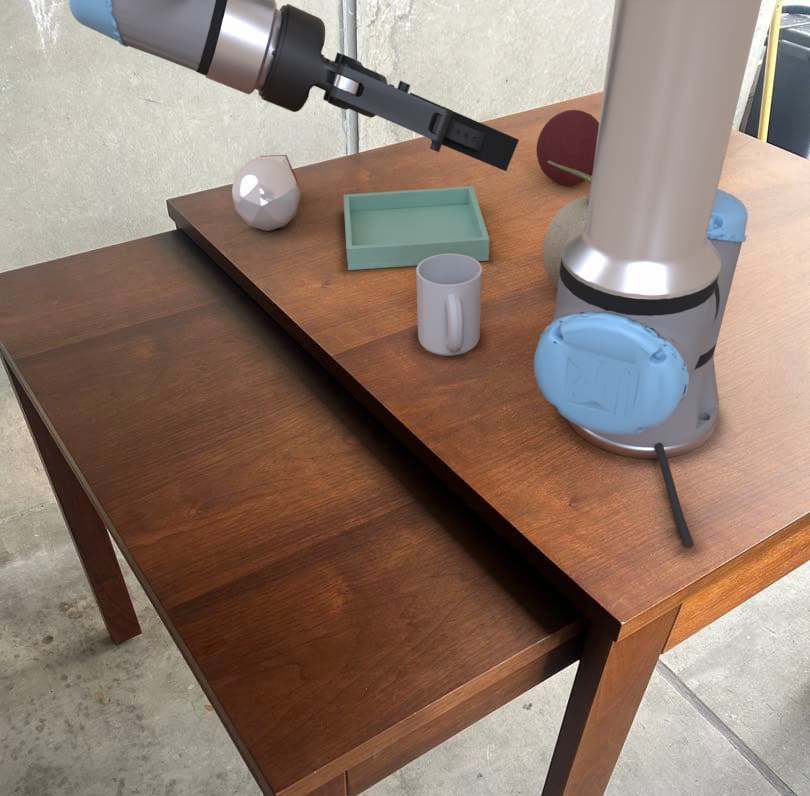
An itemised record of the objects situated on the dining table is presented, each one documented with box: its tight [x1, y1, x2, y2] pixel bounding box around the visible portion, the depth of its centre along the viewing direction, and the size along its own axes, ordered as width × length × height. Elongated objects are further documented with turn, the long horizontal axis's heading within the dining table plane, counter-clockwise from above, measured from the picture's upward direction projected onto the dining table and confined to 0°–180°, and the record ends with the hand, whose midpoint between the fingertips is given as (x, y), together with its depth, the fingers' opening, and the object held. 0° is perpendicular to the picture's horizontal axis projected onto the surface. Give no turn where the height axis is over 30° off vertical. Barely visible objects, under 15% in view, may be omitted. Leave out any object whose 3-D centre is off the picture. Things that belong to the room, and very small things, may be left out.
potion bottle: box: [230, 154, 302, 232], centre depth 122 cm, size 9×10×15 cm
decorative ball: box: [536, 109, 599, 186], centre depth 126 cm, size 10×10×10 cm
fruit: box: [542, 160, 592, 290], centre depth 102 cm, size 10×12×15 cm
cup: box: [415, 254, 483, 357], centre depth 97 cm, size 7×10×9 cm
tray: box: [342, 185, 491, 271], centre depth 118 cm, size 17×19×3 cm
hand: (486, 143), depth 81 cm, fingers open, 13 cm apart
